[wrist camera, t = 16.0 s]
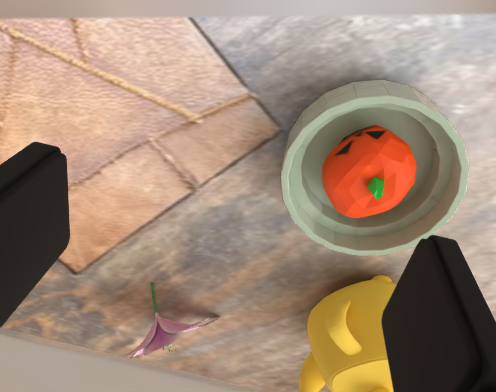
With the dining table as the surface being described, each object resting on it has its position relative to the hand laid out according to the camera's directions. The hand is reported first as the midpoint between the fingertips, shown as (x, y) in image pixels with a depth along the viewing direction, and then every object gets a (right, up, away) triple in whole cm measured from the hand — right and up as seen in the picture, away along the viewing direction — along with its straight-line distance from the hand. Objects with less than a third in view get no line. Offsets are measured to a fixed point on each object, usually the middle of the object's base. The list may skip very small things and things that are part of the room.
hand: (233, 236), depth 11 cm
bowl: (+11, +4, +26) cm, 29 cm away
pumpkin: (+11, +4, +26) cm, 28 cm away
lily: (-8, -12, +39) cm, 42 cm away
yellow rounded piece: (+12, -12, +36) cm, 40 cm away
